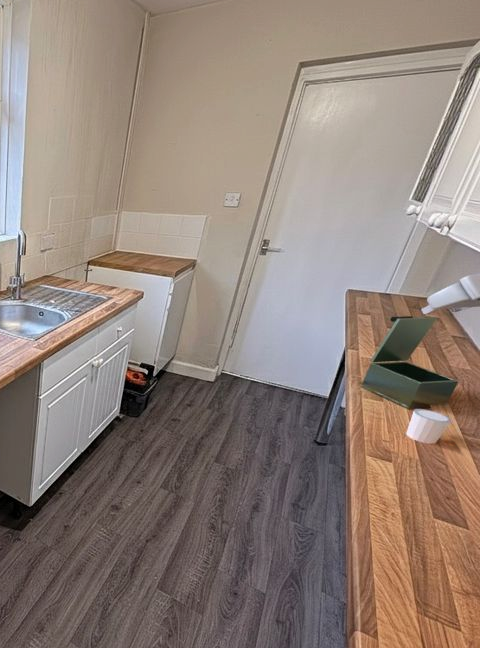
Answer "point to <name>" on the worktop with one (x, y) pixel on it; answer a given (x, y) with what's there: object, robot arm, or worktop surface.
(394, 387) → the green box
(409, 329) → the box lid
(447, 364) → the worktop surface
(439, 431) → the white ramekin
